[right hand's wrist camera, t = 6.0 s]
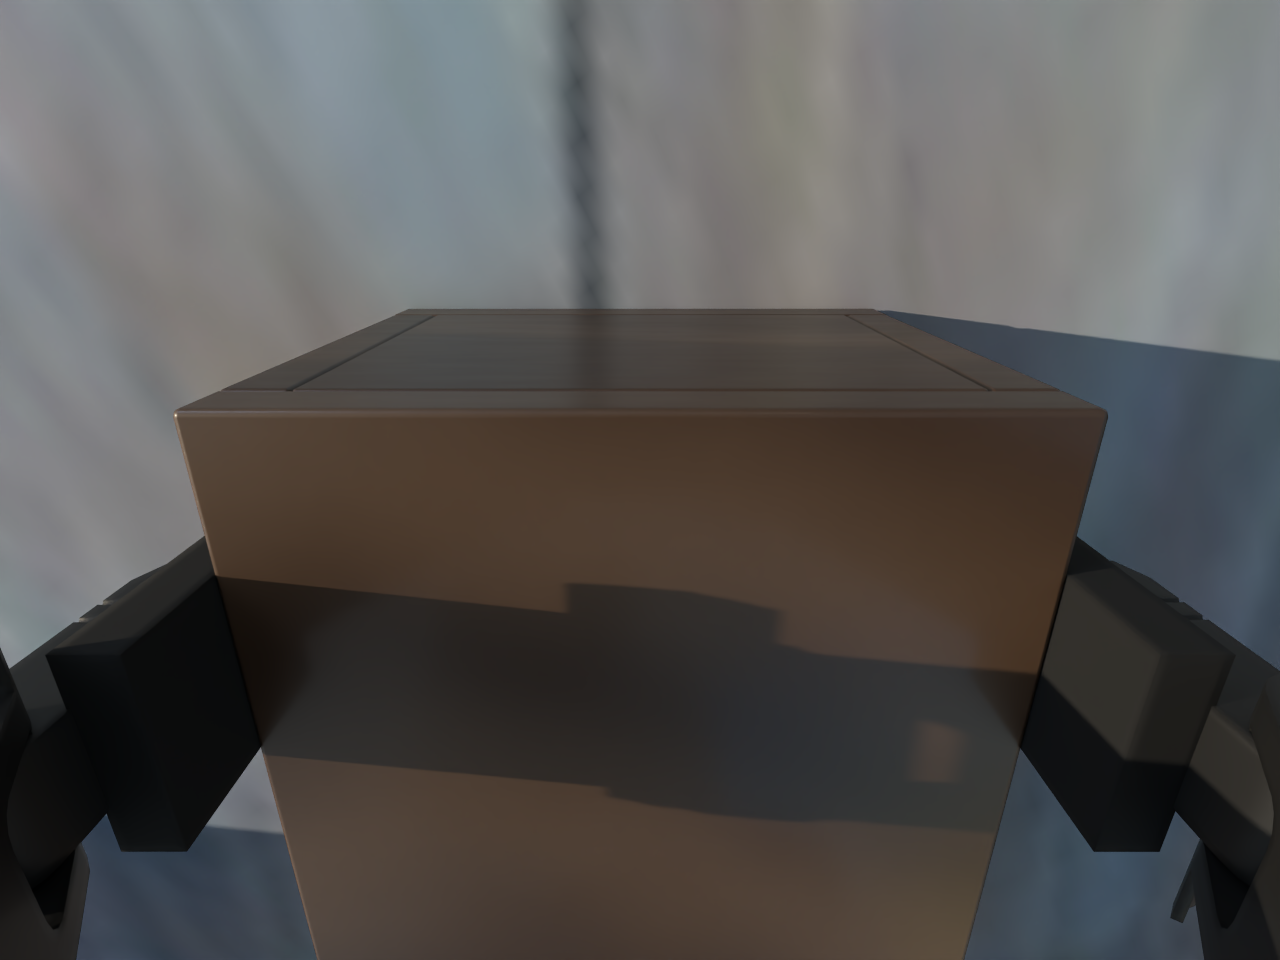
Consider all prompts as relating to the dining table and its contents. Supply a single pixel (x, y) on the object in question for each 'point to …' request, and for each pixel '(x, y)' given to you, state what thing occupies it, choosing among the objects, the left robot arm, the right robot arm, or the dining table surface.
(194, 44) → the dining table surface
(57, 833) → the right robot arm
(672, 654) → the cabinet
